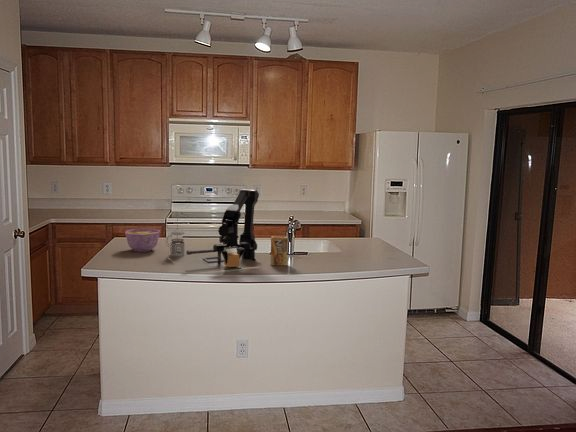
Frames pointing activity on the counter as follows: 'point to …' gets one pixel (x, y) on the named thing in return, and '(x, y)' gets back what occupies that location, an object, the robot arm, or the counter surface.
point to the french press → (173, 244)
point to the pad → (233, 269)
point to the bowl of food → (142, 239)
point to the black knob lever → (206, 252)
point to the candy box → (278, 250)
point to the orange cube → (232, 260)
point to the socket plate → (212, 261)
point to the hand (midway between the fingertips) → (231, 262)
